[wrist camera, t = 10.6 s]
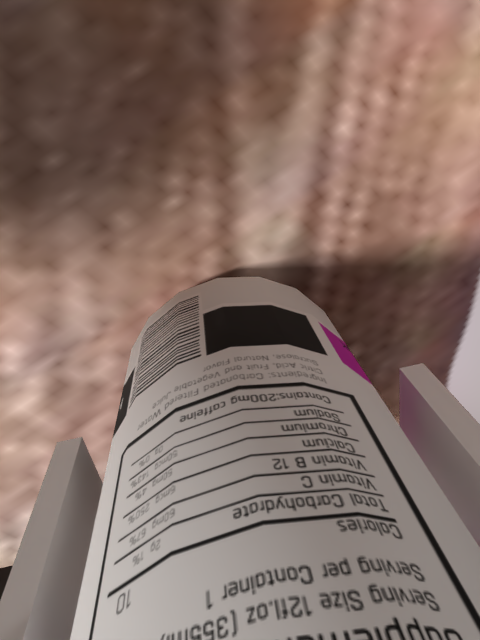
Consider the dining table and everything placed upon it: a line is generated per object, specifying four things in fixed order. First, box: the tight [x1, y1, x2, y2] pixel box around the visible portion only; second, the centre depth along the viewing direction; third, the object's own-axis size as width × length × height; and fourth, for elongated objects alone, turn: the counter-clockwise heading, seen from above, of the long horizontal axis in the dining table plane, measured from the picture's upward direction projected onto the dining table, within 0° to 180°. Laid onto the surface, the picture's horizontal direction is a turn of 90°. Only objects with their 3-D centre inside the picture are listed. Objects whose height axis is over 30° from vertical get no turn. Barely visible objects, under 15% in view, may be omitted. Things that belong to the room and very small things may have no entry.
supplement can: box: [70, 277, 480, 640], centre depth 11 cm, size 8×8×15 cm
